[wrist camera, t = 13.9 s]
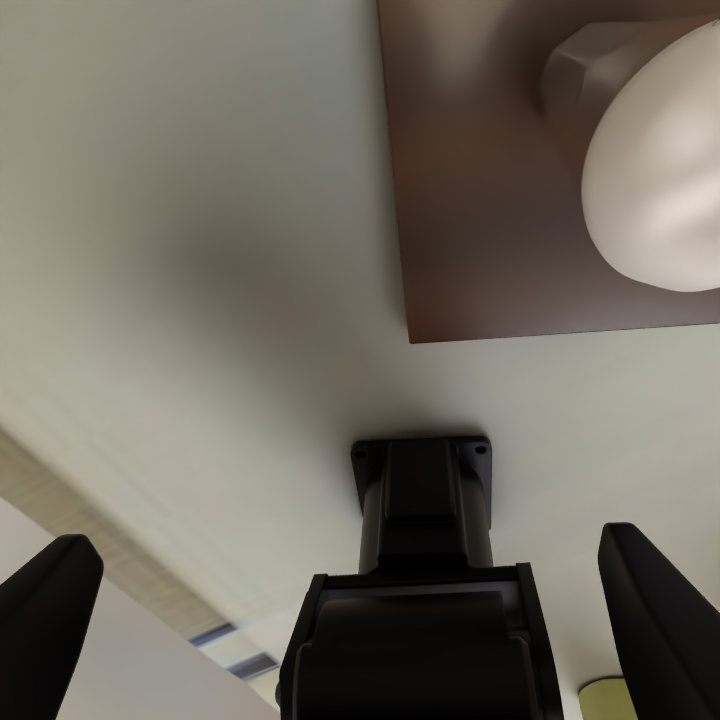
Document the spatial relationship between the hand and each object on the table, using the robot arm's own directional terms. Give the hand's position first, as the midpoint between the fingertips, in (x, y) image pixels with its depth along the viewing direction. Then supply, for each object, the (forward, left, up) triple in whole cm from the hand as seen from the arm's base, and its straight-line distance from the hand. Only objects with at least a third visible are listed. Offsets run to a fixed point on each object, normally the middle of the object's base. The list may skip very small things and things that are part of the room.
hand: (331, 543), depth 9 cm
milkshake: (+5, -7, -12) cm, 15 cm away
